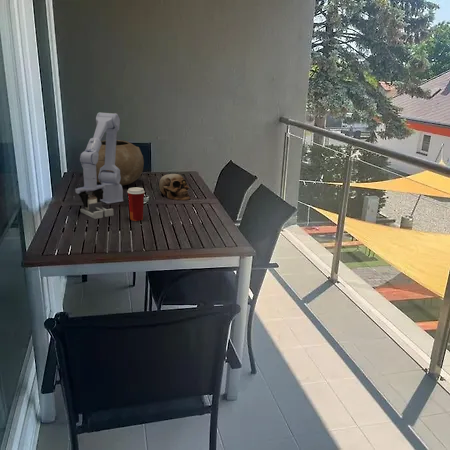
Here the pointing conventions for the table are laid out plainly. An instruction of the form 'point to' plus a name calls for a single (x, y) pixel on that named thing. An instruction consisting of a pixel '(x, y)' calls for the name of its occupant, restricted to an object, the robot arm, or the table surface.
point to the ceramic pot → (123, 161)
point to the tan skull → (174, 187)
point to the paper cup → (136, 203)
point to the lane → (98, 213)
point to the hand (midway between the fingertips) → (91, 206)
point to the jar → (91, 200)
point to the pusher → (95, 207)
